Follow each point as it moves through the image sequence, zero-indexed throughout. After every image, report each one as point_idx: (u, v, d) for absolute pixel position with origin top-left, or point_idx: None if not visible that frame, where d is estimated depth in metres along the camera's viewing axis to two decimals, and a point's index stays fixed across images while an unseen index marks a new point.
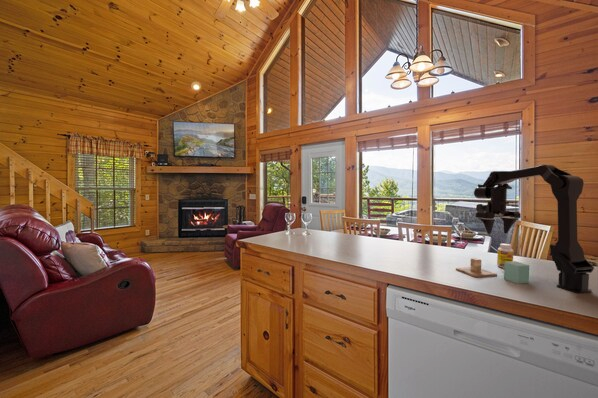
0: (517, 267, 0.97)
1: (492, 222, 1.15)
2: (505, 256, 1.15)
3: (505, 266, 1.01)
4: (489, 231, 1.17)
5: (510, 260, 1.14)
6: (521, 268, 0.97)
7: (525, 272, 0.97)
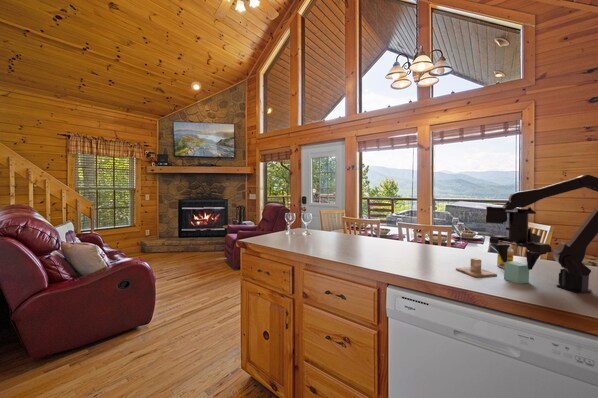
0: (517, 267, 0.97)
1: (497, 248, 1.04)
2: None
3: (505, 266, 1.01)
4: None
5: (510, 260, 1.14)
6: (521, 268, 0.97)
7: (525, 272, 0.97)
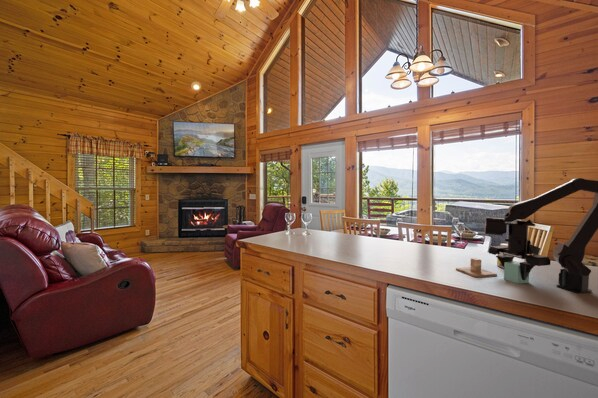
0: (517, 267, 0.97)
1: (501, 260, 1.03)
2: None
3: (505, 266, 1.01)
4: None
5: None
6: None
7: None
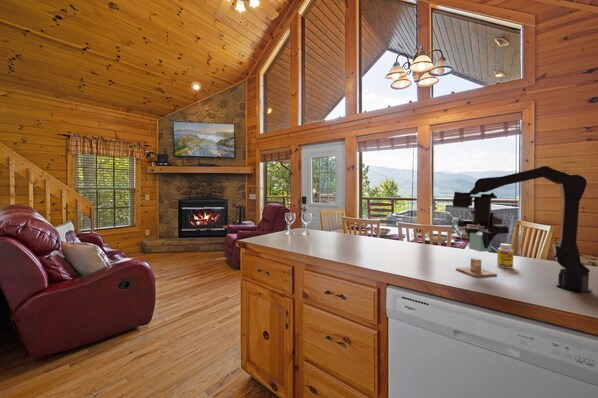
0: (480, 236, 1.05)
1: (467, 231, 1.11)
2: (506, 256, 1.15)
3: (470, 236, 1.09)
4: None
5: (510, 260, 1.14)
6: None
7: None
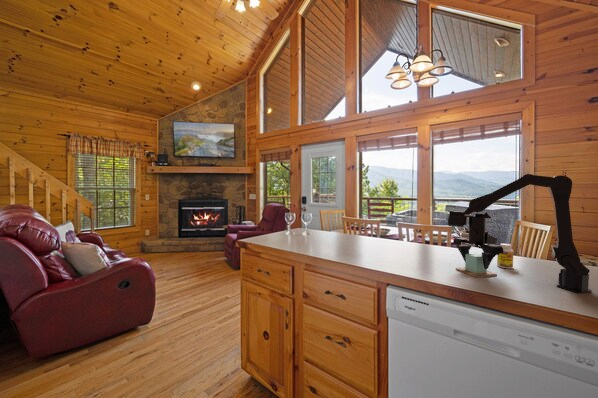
0: (475, 258, 1.06)
1: (459, 249, 1.14)
2: (506, 256, 1.15)
3: (466, 258, 1.10)
4: None
5: (510, 260, 1.14)
6: (479, 259, 1.06)
7: (482, 263, 1.06)
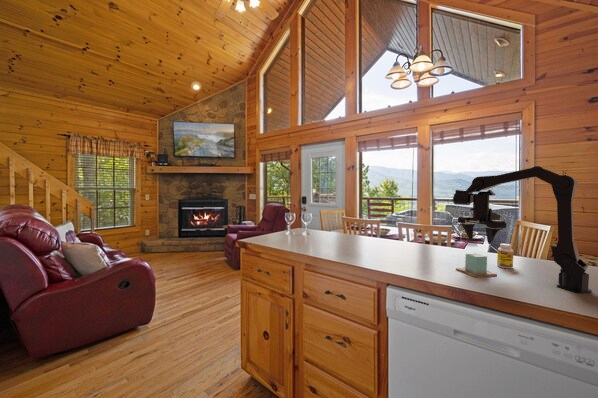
0: (475, 258, 1.06)
1: (464, 227, 1.19)
2: (505, 256, 1.15)
3: (466, 258, 1.10)
4: None
5: (510, 260, 1.14)
6: (479, 259, 1.06)
7: (482, 263, 1.06)
